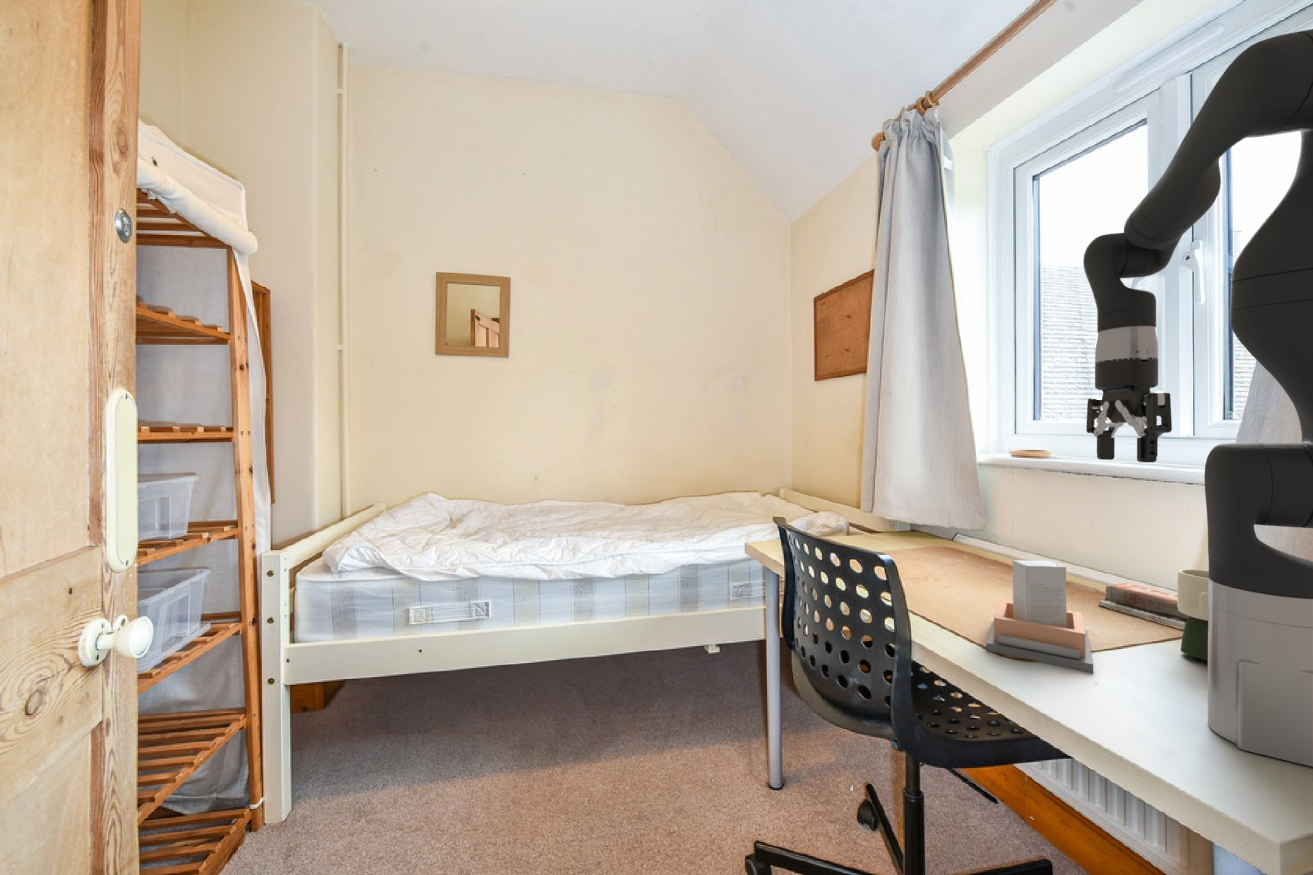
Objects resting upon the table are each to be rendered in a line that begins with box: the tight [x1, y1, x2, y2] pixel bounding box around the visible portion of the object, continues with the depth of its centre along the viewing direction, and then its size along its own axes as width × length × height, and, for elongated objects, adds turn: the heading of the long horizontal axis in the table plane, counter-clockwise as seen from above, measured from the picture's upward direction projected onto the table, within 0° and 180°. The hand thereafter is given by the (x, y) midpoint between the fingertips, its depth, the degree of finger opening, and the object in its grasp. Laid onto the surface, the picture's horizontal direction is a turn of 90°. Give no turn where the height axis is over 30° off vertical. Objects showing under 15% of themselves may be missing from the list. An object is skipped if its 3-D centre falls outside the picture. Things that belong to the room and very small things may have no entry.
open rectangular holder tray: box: [986, 599, 1094, 674], centre depth 86 cm, size 16×13×5 cm
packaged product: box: [1098, 582, 1191, 629], centre depth 98 cm, size 18×5×10 cm
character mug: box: [1176, 568, 1209, 664], centre depth 80 cm, size 11×7×13 cm, turn 127°
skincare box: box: [1012, 559, 1067, 628], centre depth 86 cm, size 6×4×12 cm
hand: (1125, 460), depth 84 cm, fingers open, 8 cm apart
